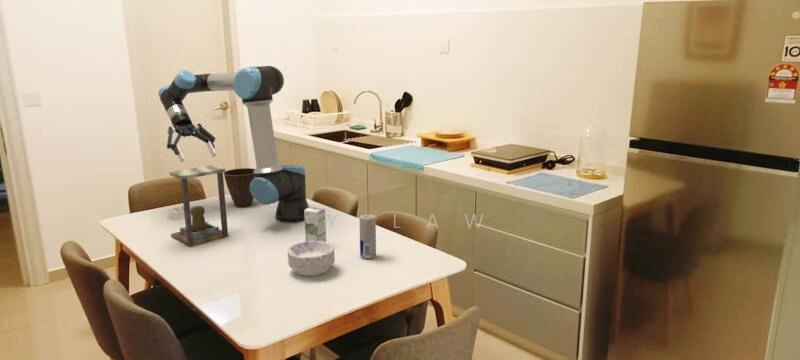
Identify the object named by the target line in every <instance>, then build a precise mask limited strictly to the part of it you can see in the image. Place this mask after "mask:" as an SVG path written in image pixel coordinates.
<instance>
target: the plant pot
mask: <svg viewBox="0 0 800 360" xmlns="http://www.w3.org/2000/svg"><path fill="white" fill-rule="evenodd" d="M255 169H256V168H245V167H244V168H243V167H242V168H241V167H240V168H234V169H228V170H225V172H223V177H224V179H225V180H224V181H225V184H226V187H227V189H228V192H229V195H230V197H231V200H232V202H233V203H234V206H235V207H237V208H247V207H250V206H252V205H253V201H254V200H255V199H254V198H253V196H252V194H251V192H250V183H251V181H252V180H253V179H254V173H253V172H254V170H255Z"/></svg>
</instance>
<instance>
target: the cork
mask: <svg viewBox="0 0 800 360" xmlns="http://www.w3.org/2000/svg"><path fill="white" fill-rule="evenodd" d="M205 211H206V210H205V208H204V206H202V205H195V206H192V207H191V208H190V214H191V224H192V232H198V231H202V230H206V229H207V227H206V223H205V222H206V219H205V213H206V212H205Z"/></svg>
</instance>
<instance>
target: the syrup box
mask: <svg viewBox="0 0 800 360" xmlns="http://www.w3.org/2000/svg"><path fill="white" fill-rule="evenodd" d="M304 215H305V221H304V229H305V230H304V231H305V241H323V242H327V228H326V227H327V226H326V225H327V224H326V208H325V207H321V206H314V205H313V206H309V208H307V209H305V210H304Z"/></svg>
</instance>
